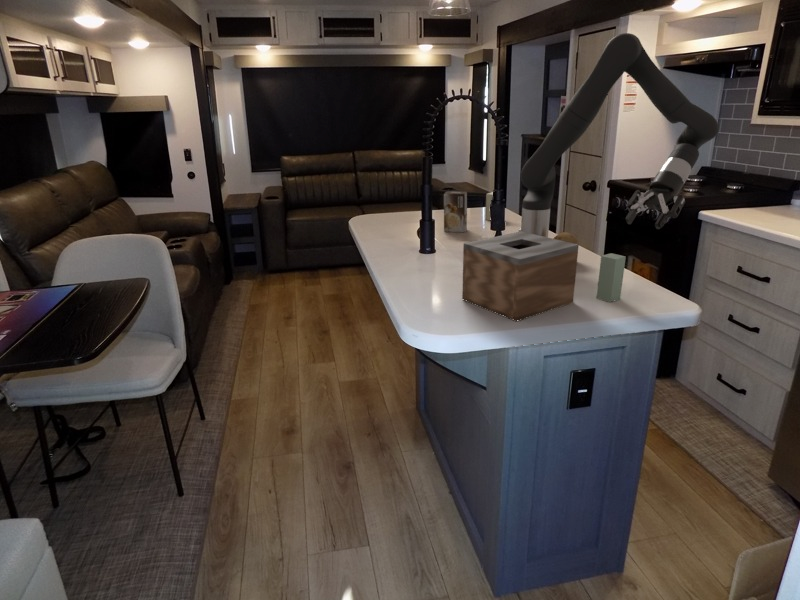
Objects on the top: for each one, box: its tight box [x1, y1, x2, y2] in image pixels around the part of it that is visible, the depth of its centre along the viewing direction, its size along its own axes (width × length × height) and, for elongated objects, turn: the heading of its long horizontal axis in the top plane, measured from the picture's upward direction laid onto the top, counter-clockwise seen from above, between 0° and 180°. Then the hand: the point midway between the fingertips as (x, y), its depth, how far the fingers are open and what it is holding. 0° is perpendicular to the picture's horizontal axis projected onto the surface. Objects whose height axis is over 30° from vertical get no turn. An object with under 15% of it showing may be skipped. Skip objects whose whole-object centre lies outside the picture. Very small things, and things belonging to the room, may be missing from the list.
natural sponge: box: [552, 232, 579, 245], centre depth 181 cm, size 9×9×10 cm
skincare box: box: [484, 191, 494, 221], centre depth 247 cm, size 6×4×12 cm
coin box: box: [461, 231, 580, 322], centre depth 144 cm, size 20×22×16 cm
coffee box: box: [443, 191, 468, 233], centre depth 226 cm, size 9×6×16 cm
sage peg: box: [596, 252, 627, 303], centre depth 146 cm, size 4×4×12 cm
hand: (642, 224), depth 147 cm, fingers open, 8 cm apart
